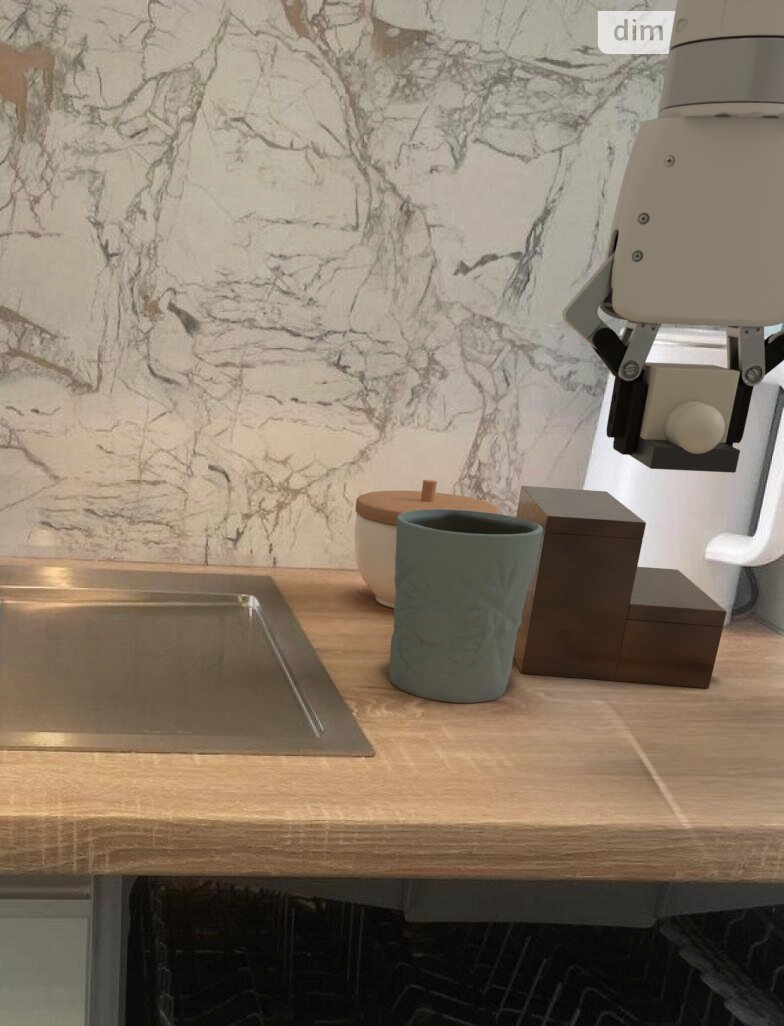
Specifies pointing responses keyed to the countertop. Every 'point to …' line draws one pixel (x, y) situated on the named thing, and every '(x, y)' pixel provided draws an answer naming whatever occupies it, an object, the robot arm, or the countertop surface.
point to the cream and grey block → (687, 418)
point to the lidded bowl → (381, 526)
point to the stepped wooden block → (609, 599)
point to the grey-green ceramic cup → (459, 601)
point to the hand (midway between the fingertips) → (670, 450)
